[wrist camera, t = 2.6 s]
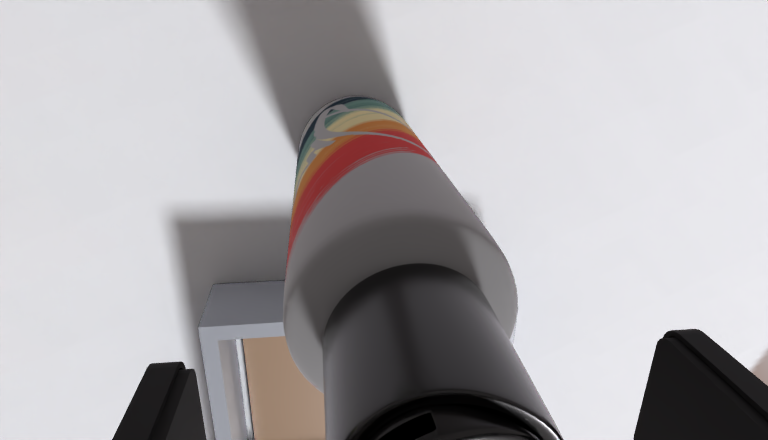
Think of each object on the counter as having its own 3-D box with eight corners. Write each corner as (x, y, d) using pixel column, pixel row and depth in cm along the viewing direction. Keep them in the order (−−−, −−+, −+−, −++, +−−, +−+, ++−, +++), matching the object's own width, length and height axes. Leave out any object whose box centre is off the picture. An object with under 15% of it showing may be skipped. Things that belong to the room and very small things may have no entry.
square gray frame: (213, 284, 28) (197, 327, 24) (492, 269, 30) (518, 307, 26) (241, 490, 34) (233, 549, 30) (471, 467, 36) (489, 520, 32)
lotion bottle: (368, 69, 24) (533, 278, 6) (433, 160, 26) (696, 517, 8) (274, 140, 25) (169, 516, 7) (345, 223, 27) (408, 677, 9)
